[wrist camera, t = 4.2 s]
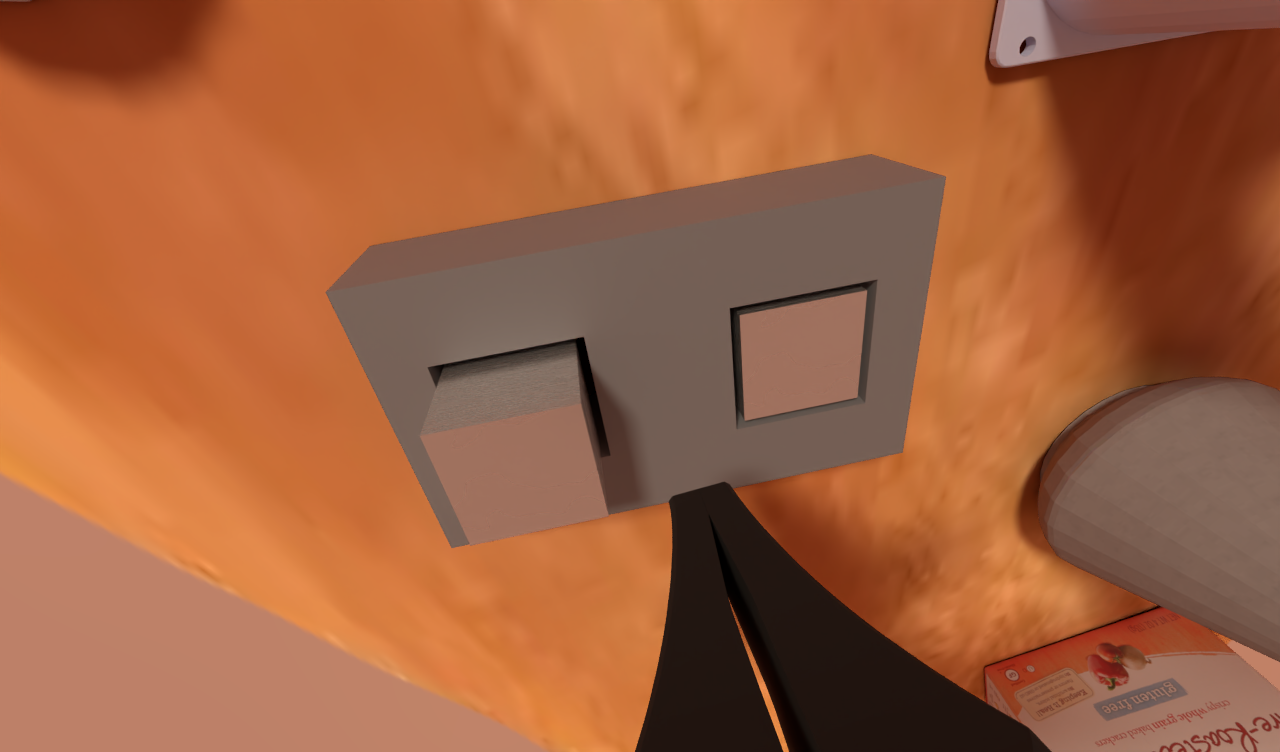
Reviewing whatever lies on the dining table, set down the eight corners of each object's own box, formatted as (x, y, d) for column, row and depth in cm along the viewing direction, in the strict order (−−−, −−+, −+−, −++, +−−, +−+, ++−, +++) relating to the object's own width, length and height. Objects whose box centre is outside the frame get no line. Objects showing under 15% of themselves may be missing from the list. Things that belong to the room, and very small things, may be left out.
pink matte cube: (815, 252, 19) (867, 290, 16) (812, 347, 21) (857, 397, 18) (708, 272, 19) (739, 315, 16) (715, 367, 21) (744, 420, 18)
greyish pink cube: (574, 336, 16) (580, 403, 13) (598, 438, 18) (608, 516, 15) (445, 362, 16) (419, 435, 13) (484, 461, 18) (470, 545, 15)
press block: (871, 154, 18) (945, 176, 15) (851, 395, 23) (902, 452, 20) (370, 246, 17) (325, 292, 14) (466, 474, 22) (451, 548, 19)
